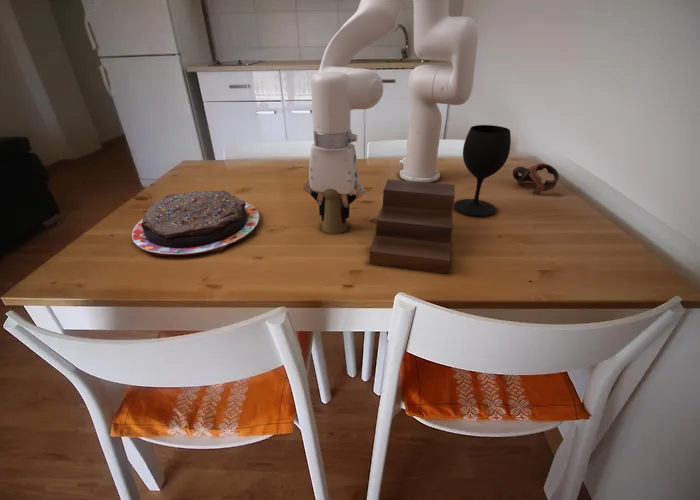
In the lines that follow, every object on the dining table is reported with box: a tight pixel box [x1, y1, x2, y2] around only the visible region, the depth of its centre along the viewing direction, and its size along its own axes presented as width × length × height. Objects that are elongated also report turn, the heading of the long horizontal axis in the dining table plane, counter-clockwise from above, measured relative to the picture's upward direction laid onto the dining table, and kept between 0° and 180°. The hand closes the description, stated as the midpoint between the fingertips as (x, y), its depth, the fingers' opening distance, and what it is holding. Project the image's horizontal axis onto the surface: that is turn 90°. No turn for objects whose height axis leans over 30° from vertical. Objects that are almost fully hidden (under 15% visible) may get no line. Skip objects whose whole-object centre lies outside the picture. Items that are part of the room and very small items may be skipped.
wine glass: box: [453, 124, 512, 218], centre depth 87 cm, size 10×10×20 cm
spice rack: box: [369, 178, 456, 274], centre depth 75 cm, size 21×15×10 cm
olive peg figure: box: [321, 189, 349, 235], centre depth 80 cm, size 6×6×11 cm
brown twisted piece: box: [512, 162, 560, 195], centre depth 102 cm, size 12×10×8 cm
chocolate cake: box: [131, 190, 260, 257], centre depth 82 cm, size 28×28×7 cm
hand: (334, 218), depth 82 cm, fingers closed on olive peg figure, 4 cm apart
